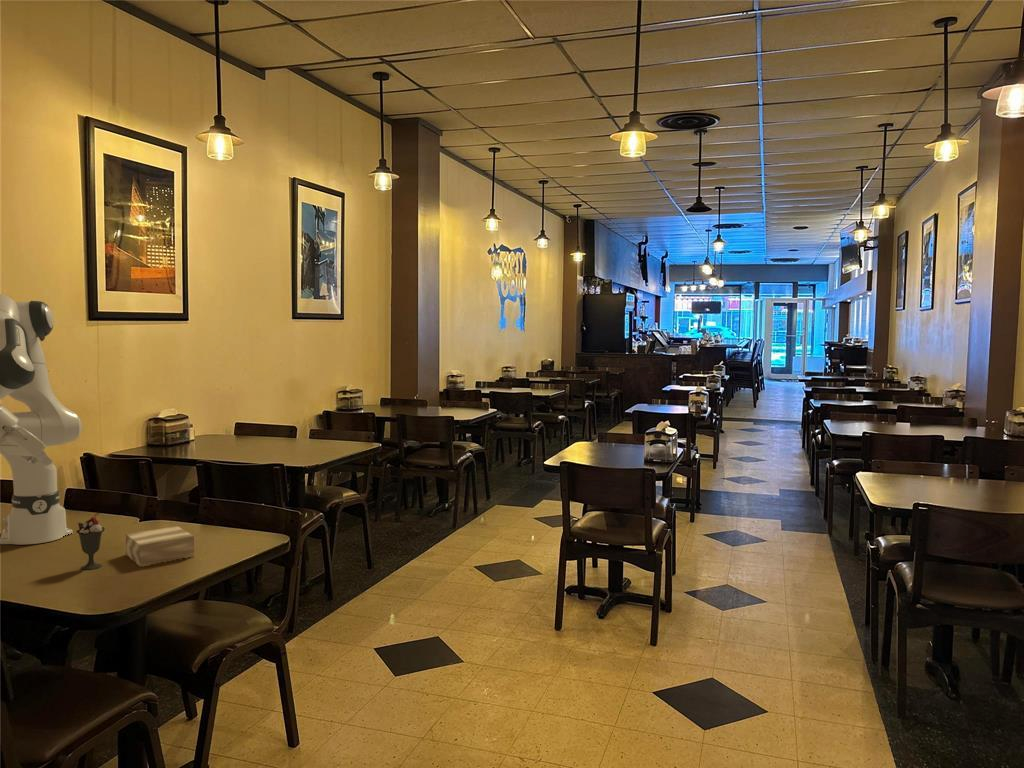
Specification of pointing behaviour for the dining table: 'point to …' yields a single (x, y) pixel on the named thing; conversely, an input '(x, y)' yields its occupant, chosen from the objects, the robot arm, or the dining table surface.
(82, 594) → the dining table surface
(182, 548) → the block
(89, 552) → the sundae
